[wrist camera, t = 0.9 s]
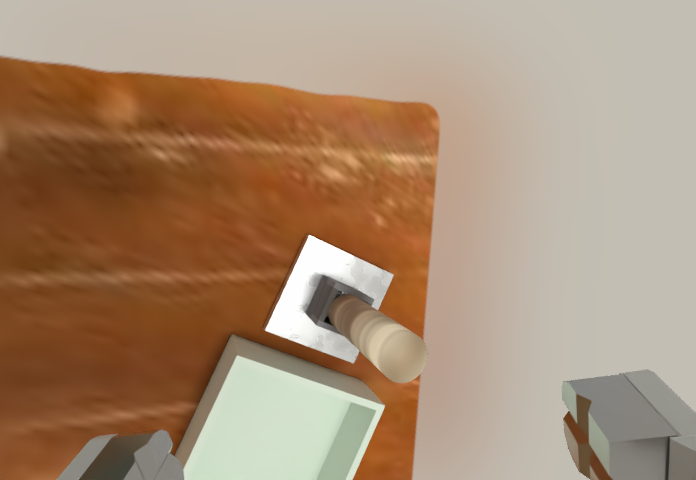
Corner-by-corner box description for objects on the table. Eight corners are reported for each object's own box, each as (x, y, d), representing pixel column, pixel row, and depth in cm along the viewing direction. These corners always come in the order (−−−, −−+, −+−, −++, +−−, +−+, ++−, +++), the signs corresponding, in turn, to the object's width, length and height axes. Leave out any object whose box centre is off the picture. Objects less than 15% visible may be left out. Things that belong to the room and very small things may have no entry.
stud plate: (263, 326, 50) (271, 343, 44) (306, 234, 51) (320, 238, 45) (349, 359, 54) (367, 378, 49) (388, 272, 55) (410, 281, 49)
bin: (162, 481, 48) (156, 526, 41) (231, 333, 49) (236, 355, 42) (303, 512, 54) (318, 555, 48) (362, 380, 55) (385, 405, 48)
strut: (305, 313, 50) (364, 378, 32) (323, 274, 50) (391, 317, 32) (341, 327, 52) (417, 397, 34) (358, 290, 52) (442, 339, 34)
